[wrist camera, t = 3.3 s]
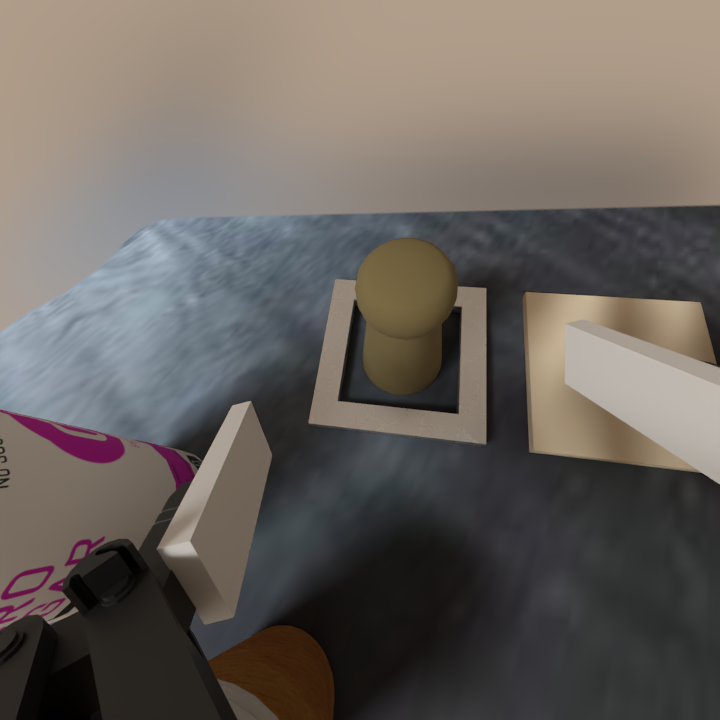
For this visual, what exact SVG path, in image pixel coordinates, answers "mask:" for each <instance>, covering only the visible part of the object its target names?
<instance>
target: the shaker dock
mask: <svg viewBox="0 0 720 720" xmlns="http://www.w3.org/2000/svg"><path fill="white" fill-rule="evenodd" d="M355 285H356V280H340V279H336V280H335V285H334V290H333V295H332V301H331V306H330V311H329V316H328V322H327V327H326V332H325V338H324V343H323V348H322V353H321V359H320V364H319V369H318V374H317V380H316V385H315V390H314V396H313V401H312V406H311V411H310V417H309V422H308V423H309V424H310V425H311V426H316V427H324V428H332V429H341V430H349V431H357V432H366V433H374V434H382V435H391V436H399V437H407V438H416V439H424V440H433V441H441V442H449V443H458V444H466V445H474V446H484V445H486V288H476V287H459V286H458V291H457V299H456V302H455V305H454V307H453V309H452V311H451V313H460V317H459V348H458V380H457V411H456V414H452V413H443V412H434V411H425V410H415V409H406V408H397V407H388V406H379V405H369V404H360V403H351V402H342V401H340V399H341V392H342V386H343V380H344V374H345V367H346V361H347V355H348V349H349V342H350V336H351V330H352V323H353V317H354V311H355V306H358V304H357V298H356V293H355Z"/></svg>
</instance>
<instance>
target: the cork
mask: <svg viewBox="0 0 720 720" xmlns="http://www.w3.org/2000/svg"><path fill="white" fill-rule="evenodd" d="M457 291H458V279H457V275H456V272H455V269H454V266H453V264H452V262H451V261H450V260H449V258H448V257H447V256H446V255H445V253H444V252H443V251H442V250H441V249H439V248H438V247H436V246H435V245H433V244H432V243H430V242H427V241H424V240H421V239H416V238H401V239H395V240H391V241H388V242H386V243H384V244H382V245H380V246H378V247H377V248H376V249H375V250H374V251H373V252H371V253H370V254H369V255H368V256H367V257H366V258H365V260H364V262H363V263H362V265H361V267H360V268H359V270H358V275H357V280H356V285H355V293H356V298H357V304H358V308H359V310H360V311H361V313H362V315H363V317H364V318H365V320H366V321H367V323H366V332H365V340H364V349H363V358H362V359H363V365H364V370H365V372H366V374H367V376H368V377H369V379H370V381H372V382H373V383H374V384H375V385H376V386H377V387H378V388H379V389H381V390H384V391H386V392H388V393H390V394H396V395H409V394H415V393H418V392H420V391H421V390H423V389H425V388H427V387H428V386H429V385H430V384H431V383H432V382H433V381H434V380H435V379H436V377H437V375H438V373H439V371H440V369H441V361H442V323H443V322H444V321H445V320H446V319H447V318H448V317H449V315H450V313H451V311H452V309H453V307H454V305H455V302H456V299H457Z"/></svg>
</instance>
